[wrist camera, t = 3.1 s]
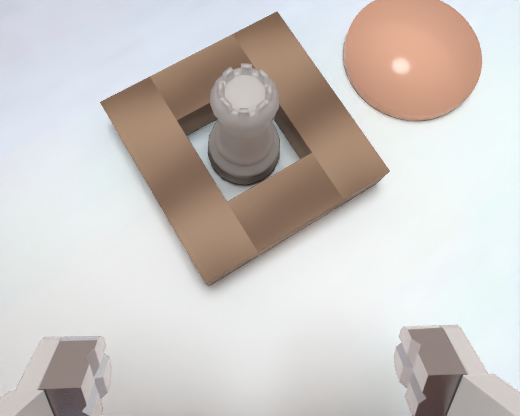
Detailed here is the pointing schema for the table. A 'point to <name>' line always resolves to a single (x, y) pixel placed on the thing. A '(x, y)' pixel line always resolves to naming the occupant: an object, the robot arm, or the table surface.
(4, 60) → the table surface
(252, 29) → the socket block
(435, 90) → the coaster
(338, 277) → the table surface
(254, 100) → the rook chess piece
